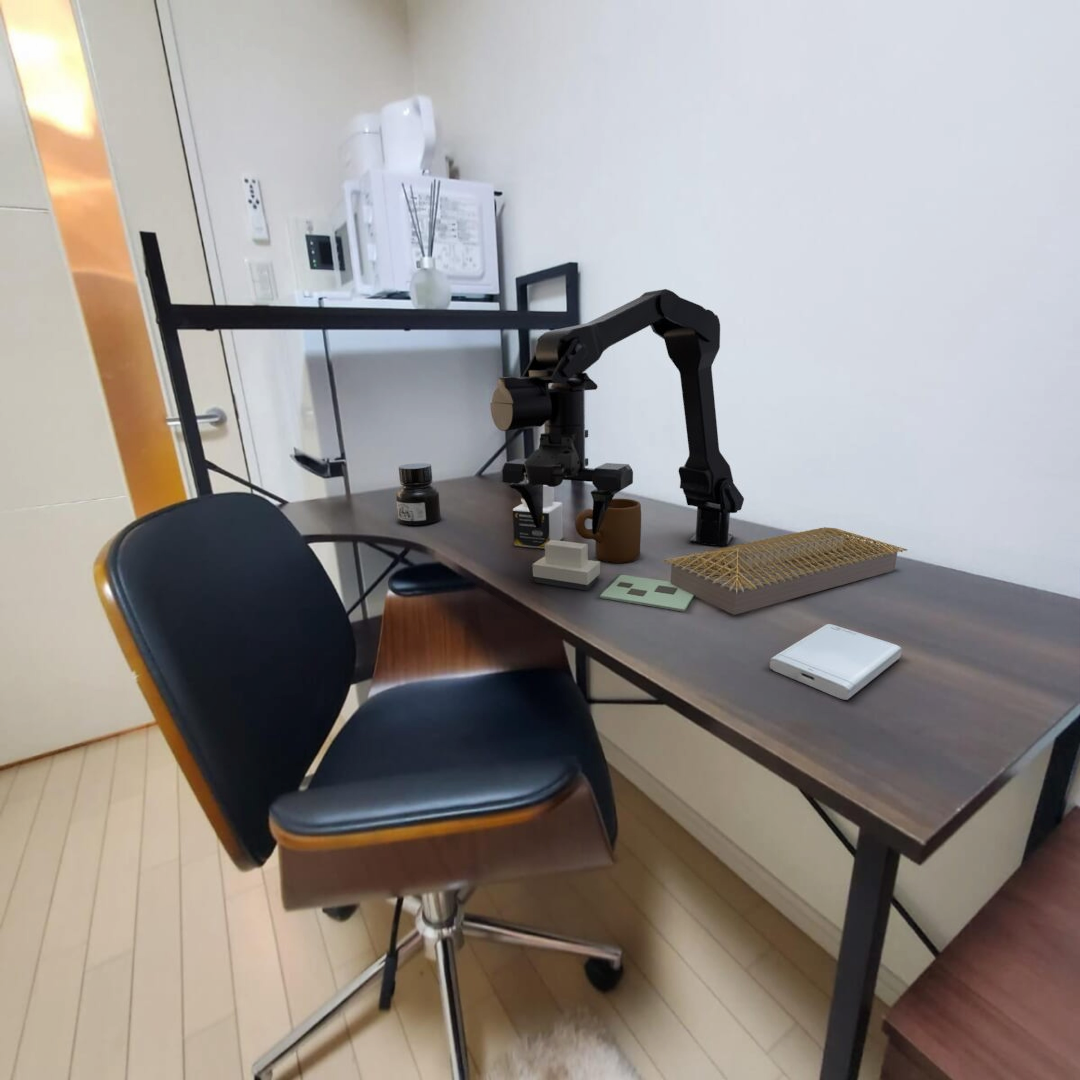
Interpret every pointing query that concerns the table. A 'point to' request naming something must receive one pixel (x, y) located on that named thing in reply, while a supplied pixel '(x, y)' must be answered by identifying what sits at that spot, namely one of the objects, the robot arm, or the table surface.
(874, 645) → the hard drive
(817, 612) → the table surface
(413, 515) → the ink bottle
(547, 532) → the medicine bottle
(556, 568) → the white stepped block
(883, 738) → the table surface
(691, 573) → the rafter model
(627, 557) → the mug
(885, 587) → the table surface
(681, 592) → the desk mat
